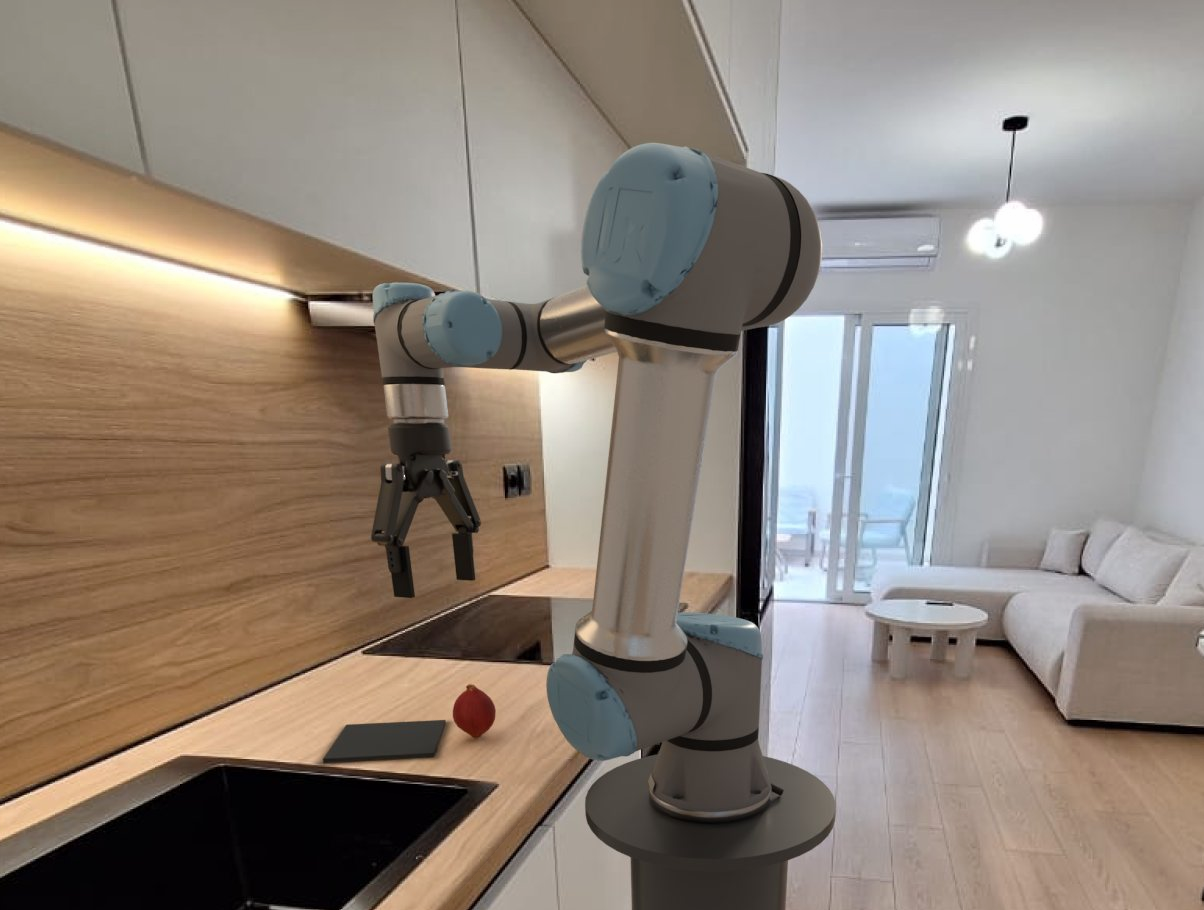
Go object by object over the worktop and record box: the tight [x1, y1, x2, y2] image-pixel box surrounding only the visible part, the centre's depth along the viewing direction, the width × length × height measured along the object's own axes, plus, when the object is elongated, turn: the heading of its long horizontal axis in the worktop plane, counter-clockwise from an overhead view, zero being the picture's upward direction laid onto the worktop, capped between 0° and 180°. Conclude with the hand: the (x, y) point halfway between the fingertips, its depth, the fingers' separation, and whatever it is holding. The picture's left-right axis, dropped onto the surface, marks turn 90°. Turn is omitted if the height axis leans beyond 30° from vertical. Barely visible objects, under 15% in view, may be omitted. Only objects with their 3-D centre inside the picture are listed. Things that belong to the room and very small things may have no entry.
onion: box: [452, 683, 497, 739], centre depth 113 cm, size 6×6×8 cm
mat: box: [322, 719, 447, 764], centre depth 112 cm, size 14×13×1 cm
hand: (437, 588), depth 111 cm, fingers open, 13 cm apart
